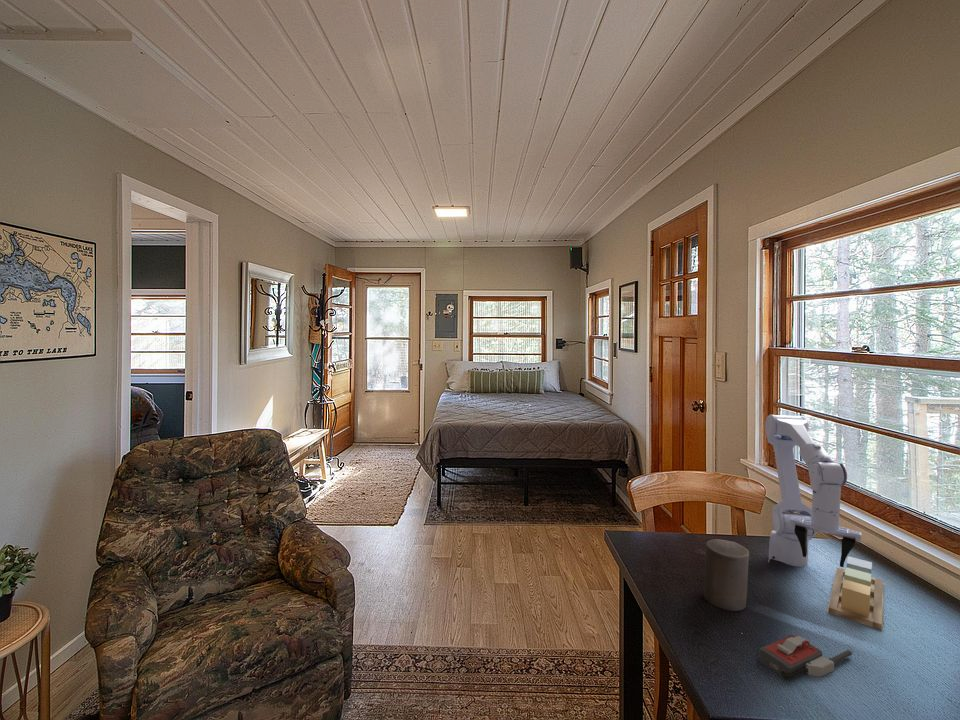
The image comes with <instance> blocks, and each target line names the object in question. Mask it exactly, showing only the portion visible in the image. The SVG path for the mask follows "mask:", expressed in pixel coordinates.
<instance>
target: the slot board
mask: <svg viewBox="0 0 960 720" xmlns="http://www.w3.org/2000/svg"><path fill="white" fill-rule="evenodd" d="M845 570H846V568H845V569H843V568H842V567H836V571H835V573H834V578H833V583H832V588H831V591H830V592H831V593H830V596H829V601H828V605H827V606H828V607H827V610H826V612H827V613H829V614H832V615H835V616H838V617H841V618H844V619H847V620H851V621H853V622H856V623H859V624H862V625H866V626H868V627H871V628H874V629H877V630H881V631H883V630H884V584H883V579H881V578H876V577H873V576H871V593H870V610H869V617H866V616H863V615H860V614H857V613H854V612H851V611H847V610H844V609H841V599H842V586H843V582H844V577H845Z"/></svg>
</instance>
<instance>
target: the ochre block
mask: <svg viewBox="0 0 960 720" xmlns="http://www.w3.org/2000/svg"><path fill="white" fill-rule="evenodd" d="M870 593H871V587H869V586H866V585H863V584H859V583H856V582H852V581H849V580H845V579H844V582H843V586H842V599H841V609H844V610H847V611H851V612H854V613H857V614H860V615H863V616H866V617H869V610H870Z"/></svg>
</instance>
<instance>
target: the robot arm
mask: <svg viewBox="0 0 960 720" xmlns="http://www.w3.org/2000/svg"><path fill="white" fill-rule="evenodd" d="M764 428H765V434H766V435H765V436H766V439H767V443H768V444H770V445H772V446H773V447H772V448H773V451H774V457H775V464H776V465H775V467H776V471H777V477H778V484H779V489H780V490H779V492H780V497H781V498H780V499H781V500H780V502H778V503H776V504H774V506H773V507H772V509H771V510H772V511H771V512H772V517H771V521H772V522H771V523H772V527H773V529H772V530H771V531H770V536H769V544H768V561H767V563H768V564H769V562H770V560H774V561H778V562H781V563H783V564H786V565H789V566H792V567H800V568H801V567H802V568H803V567H807V566H808V562H809V561H808V560H809V544H810V542H809V541H811V540H812V537H815V536H816V534H817V533H821V534H827V535H831V536H835V537H840V538H841V551H840V552H841V556H840V560H839V561H840V562H839V568H844V565H845V563H846V560H847V558H848V555H849V553H850V552H851V551H852V550H853V548H854V547H855V546H856V543H859V544H860V543H861V542H862V532H860V531H857V530H854V529H850V528H847V527H843V526H840V511H841V497H842V496H841V493H842V492H841V491H842V487H843V486H845V485H846V484H847V481H848V472H847V469H846V467H845V465H844V463H842V462H840V461H837V460H833V458H832V457H831V456H830V454H828V452H827V451H826V449H825V448H824V447H823V446H822V445H821V444H820V443H817V442H814V440H813V438H812V437H811V435H810V434H809V422H808V419H807V418H806V417H805V416H804V415H780V414H777V415H776V414H769V415H768V416H767V417H766V420H765V424H764ZM796 446H797V447H799V456H800V458H801V459H802V460H803V462H804V463H805V465H806V466H807V468H808V476H809V479H810V480H809V482H810V489H811V490H812V494H811V496H812V498H811V499H812V500H811V507H810V506H808V505H807V504H806V503H804V502H803V501H802V496H801V490H800V482H799V477H798V472H797V467H796V466H797V465H796V461H795V460H796V459H795V454H794V448H795V447H796Z"/></svg>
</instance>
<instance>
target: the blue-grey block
mask: <svg viewBox="0 0 960 720" xmlns="http://www.w3.org/2000/svg"><path fill="white" fill-rule="evenodd" d="M846 567H847V568H851V569H855V570H858V571H862V572H866V573H870V574H871V575H872V570H873V561H869V560H865V559H864V560H863V559H861V558H856V557H854V556H853V557H852V556H848V555H847V557H846Z"/></svg>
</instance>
